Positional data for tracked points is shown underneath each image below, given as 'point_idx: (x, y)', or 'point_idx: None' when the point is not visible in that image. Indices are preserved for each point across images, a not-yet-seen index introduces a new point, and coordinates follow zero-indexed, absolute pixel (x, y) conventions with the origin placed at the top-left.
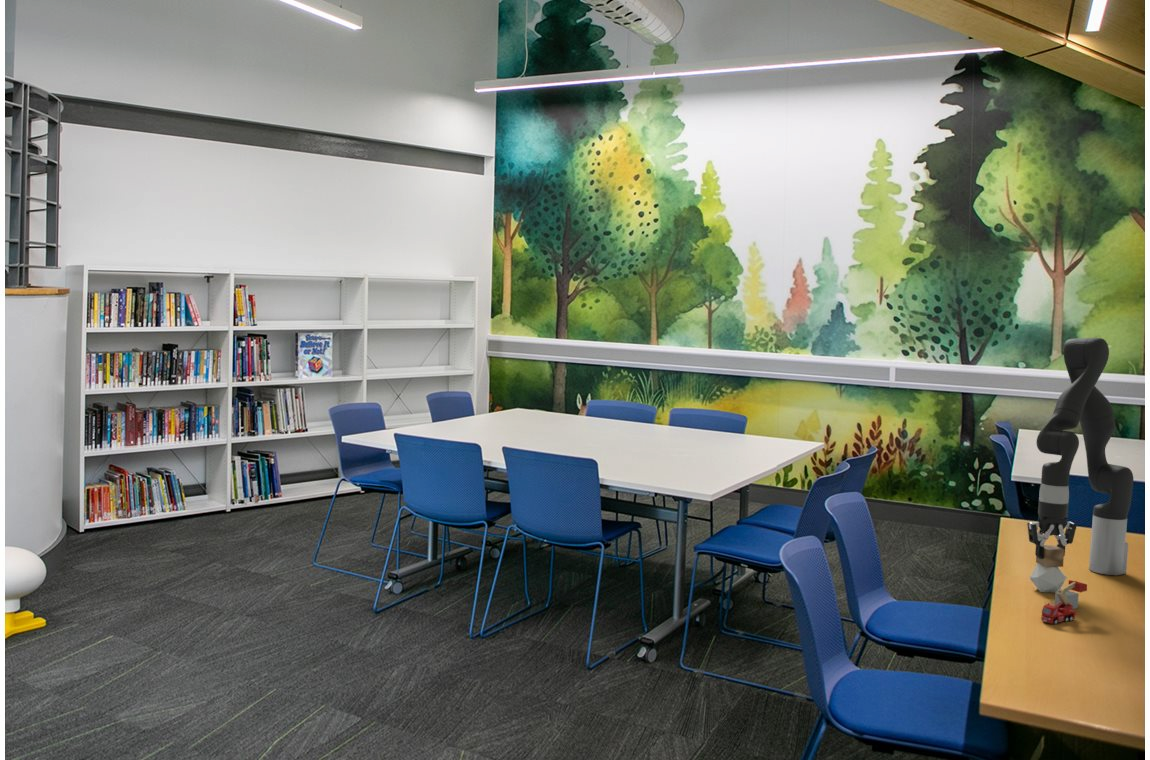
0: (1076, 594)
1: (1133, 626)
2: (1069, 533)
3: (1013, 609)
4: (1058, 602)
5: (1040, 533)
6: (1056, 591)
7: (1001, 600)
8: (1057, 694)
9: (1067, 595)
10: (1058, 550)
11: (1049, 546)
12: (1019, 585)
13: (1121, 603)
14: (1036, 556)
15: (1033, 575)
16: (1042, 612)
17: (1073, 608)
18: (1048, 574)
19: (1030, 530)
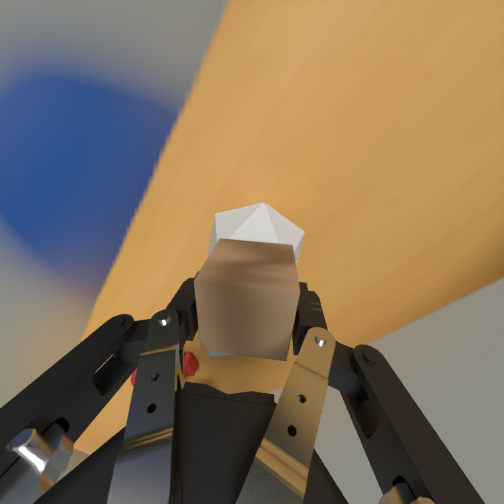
0: (232, 354)
1: (269, 390)
2: (373, 451)
3: (119, 314)
4: None
5: (153, 379)
6: (199, 337)
7: (113, 274)
8: (90, 440)
9: (209, 354)
10: (256, 352)
11: (249, 314)
12: (208, 180)
13: (358, 328)
14: (212, 251)
15: (211, 238)
16: (134, 371)
17: None
18: None
19: (36, 408)
